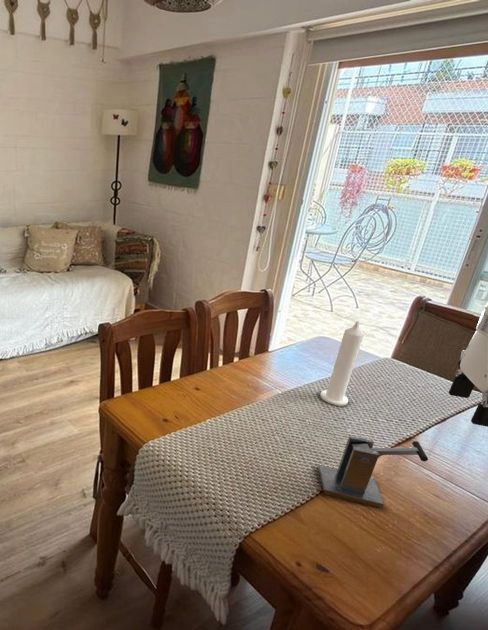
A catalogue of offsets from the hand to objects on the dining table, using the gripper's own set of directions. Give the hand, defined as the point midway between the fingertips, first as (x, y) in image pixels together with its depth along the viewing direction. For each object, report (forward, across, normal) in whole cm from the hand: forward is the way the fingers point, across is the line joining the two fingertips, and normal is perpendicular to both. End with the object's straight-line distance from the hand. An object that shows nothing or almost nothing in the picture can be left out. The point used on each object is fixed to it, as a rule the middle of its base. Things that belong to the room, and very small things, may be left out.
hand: (469, 409), depth 82 cm
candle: (+24, +38, +11) cm, 46 cm away
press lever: (+14, 0, +9) cm, 17 cm away
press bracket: (+24, 0, +14) cm, 28 cm away
